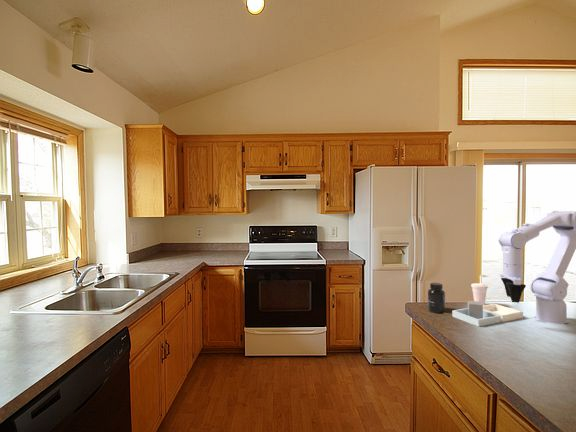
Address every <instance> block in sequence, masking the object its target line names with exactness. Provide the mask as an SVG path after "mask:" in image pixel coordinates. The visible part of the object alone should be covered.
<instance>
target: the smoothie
mask: <svg viewBox="0 0 576 432" xmlns="http://www.w3.org/2000/svg"><path fill="white" fill-rule="evenodd" d="M470 287H471V291H472V295H473V296H472V297H473V301H477V302H481V303H482V305H486V300H487V299H486V298H487V290H488V287H489V285H487V284H485V283H482V275H481V274H480V275H479V283H477V282H475V283H471V284H470Z"/></svg>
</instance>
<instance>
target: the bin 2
mask: <svg viewBox="0 0 576 432" xmlns="http://www.w3.org/2000/svg"><path fill="white" fill-rule="evenodd" d="M483 310H484V311H487V312H490V313H493V314H496V315H499V316H500V320H501V322H500V323H505V322H509V321H514V320H520V319H523V318H524V312H523V311H521V310H518V309H515V308H511V307H507V306H504V305H501V304H497V303H491V304H490V303H489V304H485V305H483Z"/></svg>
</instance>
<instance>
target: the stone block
mask: <svg viewBox="0 0 576 432" xmlns="http://www.w3.org/2000/svg"><path fill="white" fill-rule="evenodd" d="M467 308H468V316H471V317H473V318H476V319H482V318H483V305H482V303H481V302H477V301H474V300H467Z"/></svg>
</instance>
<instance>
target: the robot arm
mask: <svg viewBox="0 0 576 432" xmlns="http://www.w3.org/2000/svg"><path fill="white" fill-rule="evenodd" d="M549 228H553V229H554V231H555V232H556V234H558V235H560V238H559V240H558V242H557V244H556V247H555V250H554V251H553V253H552V255H551V257H550V259H549V263H548V264H547V267H546V268H545V271H544V272H543V271H542V272H541V273H538V274H536V276H535V278H534V279H533V280H532V281H531V283H530V284H529V285H530V286H529V288H530V291H531V292H532V294H533V296H534V297H535V304H536V305H535V315H536V316H532V317H530V319H533V320H537V321H540V322H543V323H547V324H550V325H554V326H555V325H559V324H560V325H561V324H567V323H570V322H571V321H569V320H568V318H567V315H568V313H567V303H566V302H565V300H564V299H565V298H566V297H567V295H568V287H569V283H568V282H567V280H566V279H565V278H564V276H565V274H566V272H567V270H568V267H569V265H570V263H571V261H572V258H573V256H574V254H575V251H576V210H572V211H571V210H569V211H568V210H564V211H562V210H561V211H560V210H559V211H558V210H553V211H551V212H549V213H547V214H546V215H545V216H544V217H543V218H541V219H539V220H537V221H536V222H535V223H522V226H520V227H517V228H514V229H512V230H511V231H510V232H508V231H506V232H504V233H502V234H501V235H500V237H499V238H498V243H499V245H500V247H501V251H502V270H503V271H502V273H500V274H499V277H500V279H501V282H502V284H503V285H504V290H505V293H506V296H507V298H508V297H509V298H510V300H511V302H512V303H517V304H518V303H519V304H520V302H521V298H522V294H523V291H525V289H526V287H527V285H526V284H522V280H523V279H524V276H523V257H522V256H523V252H522V250H523V248H524V247H525V246H526V244H527V243H528V242H530V241H531V240H533V239H535V238H537V237H539V236H540V233H541V232H543V231H545V230H546V229H549Z"/></svg>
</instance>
